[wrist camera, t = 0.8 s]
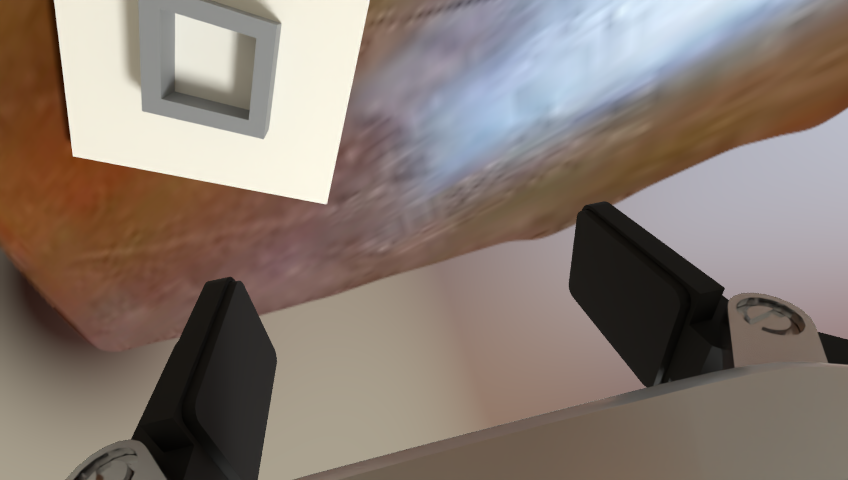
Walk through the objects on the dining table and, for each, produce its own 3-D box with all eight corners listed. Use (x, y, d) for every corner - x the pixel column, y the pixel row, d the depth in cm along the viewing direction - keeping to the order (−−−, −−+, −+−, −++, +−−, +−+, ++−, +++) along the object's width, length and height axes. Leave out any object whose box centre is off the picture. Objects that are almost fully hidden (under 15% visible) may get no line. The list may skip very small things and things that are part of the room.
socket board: (49, -168, 23) (-5, -199, 19) (375, -36, 29) (381, -42, 26) (83, 150, 32) (51, 168, 28) (327, 197, 38) (326, 217, 35)
